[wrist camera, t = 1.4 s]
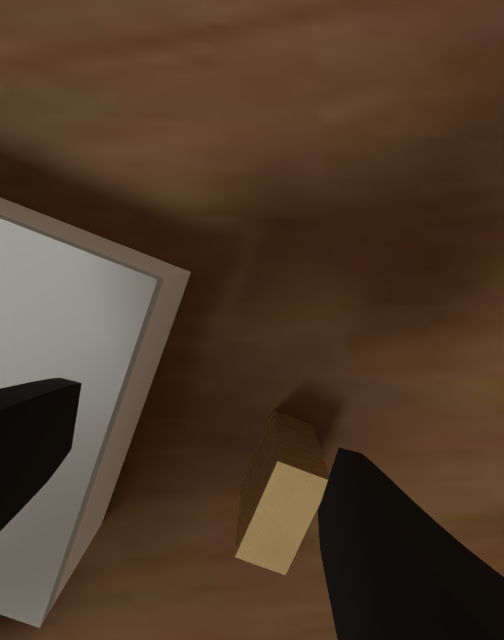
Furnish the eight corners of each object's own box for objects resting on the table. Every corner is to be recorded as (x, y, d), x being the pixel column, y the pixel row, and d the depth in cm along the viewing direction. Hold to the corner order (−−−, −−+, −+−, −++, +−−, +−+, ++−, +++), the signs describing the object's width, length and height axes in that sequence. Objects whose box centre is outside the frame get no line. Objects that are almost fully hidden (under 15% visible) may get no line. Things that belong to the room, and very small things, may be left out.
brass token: (279, 498, 20) (285, 575, 16) (240, 484, 20) (234, 556, 15) (313, 424, 20) (330, 480, 15) (273, 409, 19) (277, 461, 15)
